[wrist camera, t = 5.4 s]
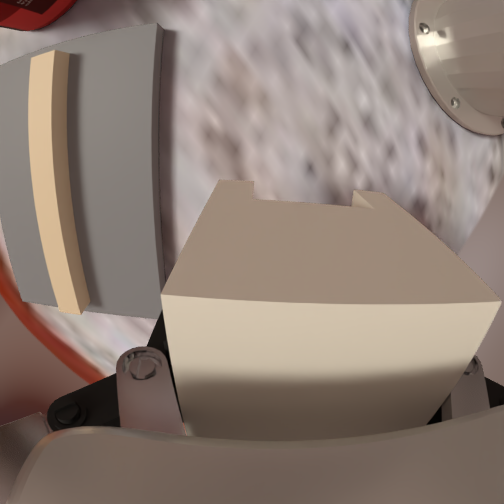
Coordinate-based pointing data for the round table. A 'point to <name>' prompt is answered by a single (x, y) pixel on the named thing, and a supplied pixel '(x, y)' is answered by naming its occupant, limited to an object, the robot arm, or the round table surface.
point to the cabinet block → (317, 318)
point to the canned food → (31, 13)
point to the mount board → (85, 173)
